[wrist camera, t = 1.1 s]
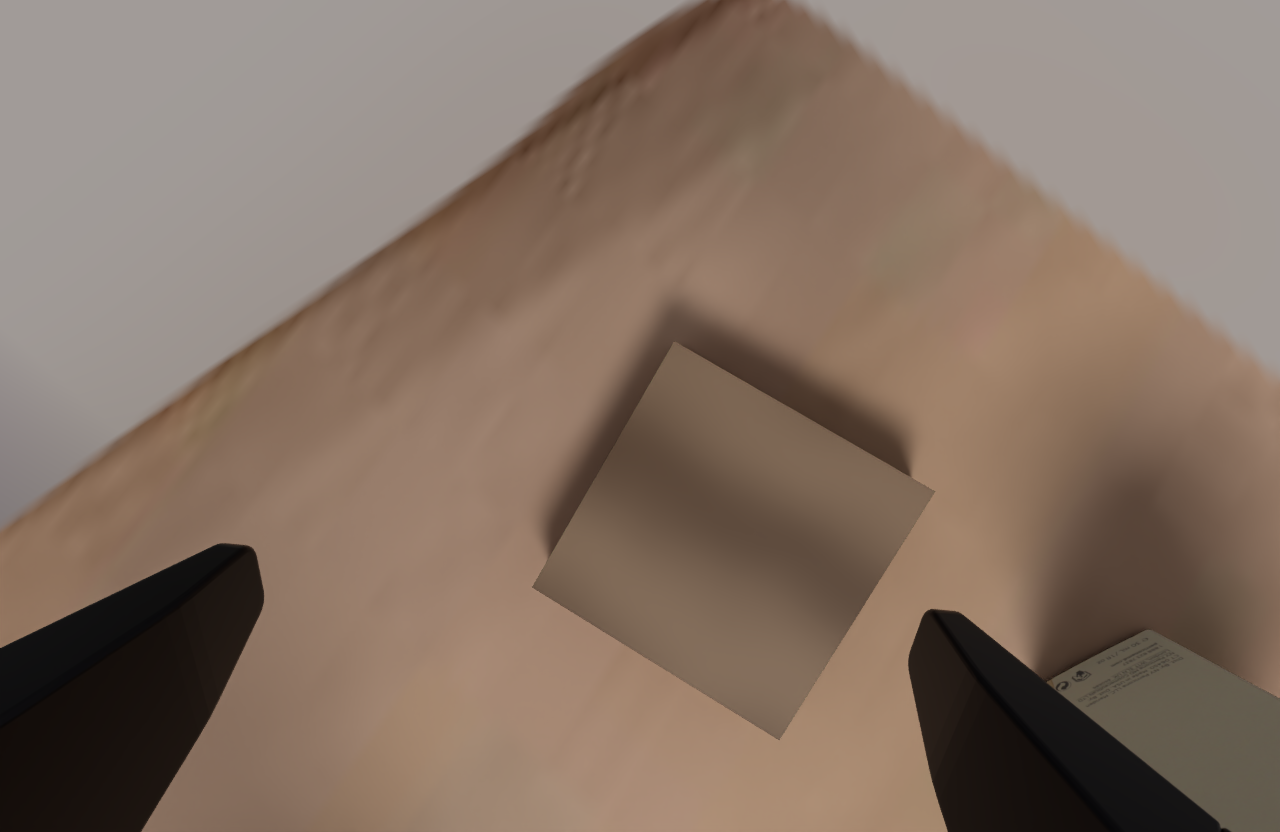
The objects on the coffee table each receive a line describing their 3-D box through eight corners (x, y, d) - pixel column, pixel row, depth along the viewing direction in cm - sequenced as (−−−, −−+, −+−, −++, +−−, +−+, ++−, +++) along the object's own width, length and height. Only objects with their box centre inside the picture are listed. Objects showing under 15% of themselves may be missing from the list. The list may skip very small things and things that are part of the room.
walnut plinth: (772, 704, 24) (779, 740, 21) (550, 567, 25) (532, 587, 22) (911, 480, 23) (935, 491, 21) (678, 346, 24) (674, 341, 21)
